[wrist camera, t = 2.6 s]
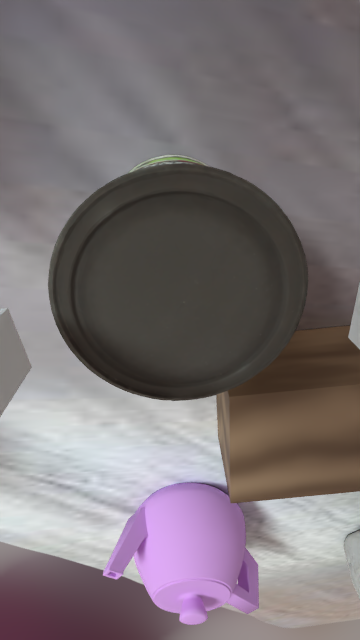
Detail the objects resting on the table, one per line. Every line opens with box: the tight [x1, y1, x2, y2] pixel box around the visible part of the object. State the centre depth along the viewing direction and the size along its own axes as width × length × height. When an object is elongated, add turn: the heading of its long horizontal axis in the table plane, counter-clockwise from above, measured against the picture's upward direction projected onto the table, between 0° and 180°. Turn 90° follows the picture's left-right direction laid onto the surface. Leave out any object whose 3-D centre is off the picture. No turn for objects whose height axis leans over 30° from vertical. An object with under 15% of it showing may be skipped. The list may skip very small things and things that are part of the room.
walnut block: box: [217, 325, 360, 503], centre depth 30 cm, size 14×14×8 cm
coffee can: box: [48, 155, 308, 401], centre depth 18 cm, size 10×10×14 cm
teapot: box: [103, 483, 259, 625], centre depth 39 cm, size 22×16×12 cm
